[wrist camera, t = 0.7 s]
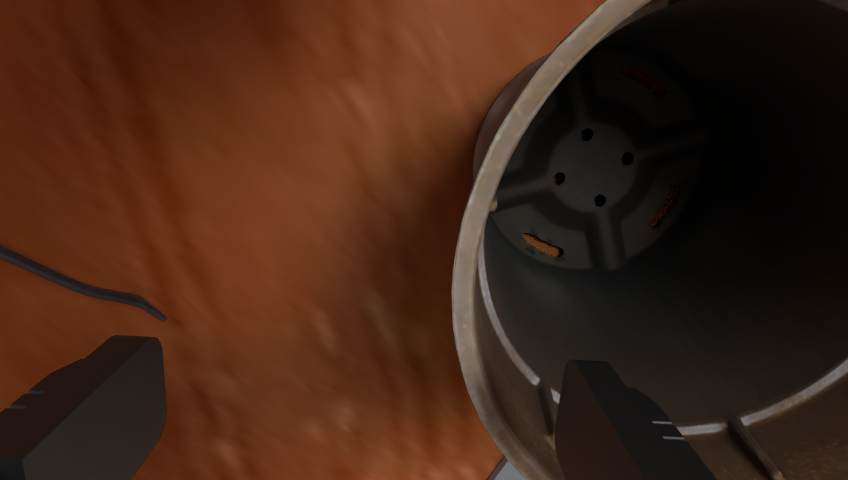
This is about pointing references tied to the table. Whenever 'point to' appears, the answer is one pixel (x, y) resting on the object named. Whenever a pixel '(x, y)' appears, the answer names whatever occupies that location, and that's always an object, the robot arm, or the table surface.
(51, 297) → the table surface
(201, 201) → the table surface
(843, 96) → the plant pot
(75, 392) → the robot arm
